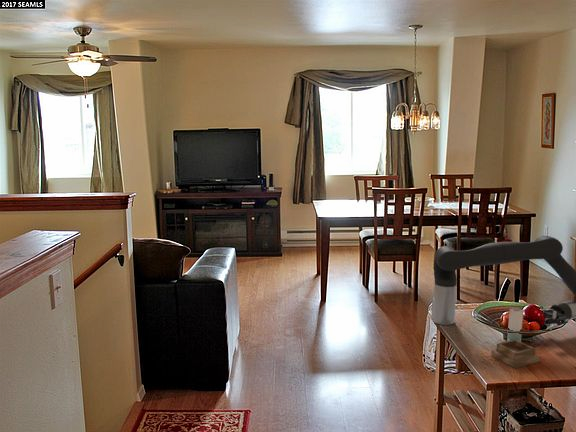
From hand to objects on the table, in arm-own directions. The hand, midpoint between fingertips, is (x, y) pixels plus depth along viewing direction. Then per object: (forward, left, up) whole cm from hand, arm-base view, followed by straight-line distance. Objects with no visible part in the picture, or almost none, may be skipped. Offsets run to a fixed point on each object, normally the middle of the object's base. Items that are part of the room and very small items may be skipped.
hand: (536, 318), depth 235 cm
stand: (+10, -21, -9) cm, 25 cm away
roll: (0, -11, -9) cm, 14 cm away
